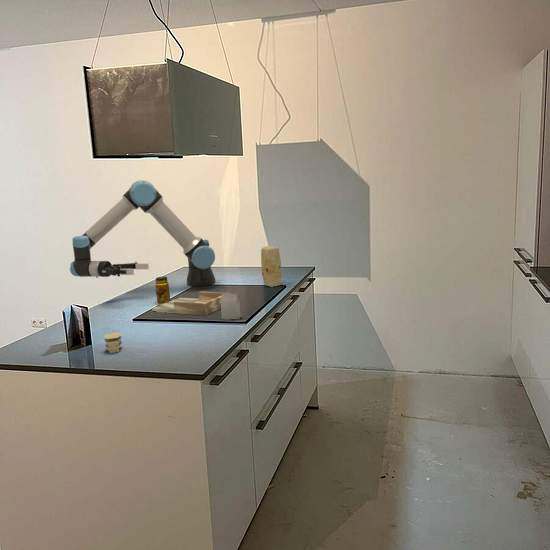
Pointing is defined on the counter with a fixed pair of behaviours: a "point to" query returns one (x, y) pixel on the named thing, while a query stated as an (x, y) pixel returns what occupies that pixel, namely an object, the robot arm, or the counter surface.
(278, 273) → the food model
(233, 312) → the tea bag
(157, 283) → the condiment
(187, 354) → the counter surface
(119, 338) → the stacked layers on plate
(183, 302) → the open-front wooden tray
